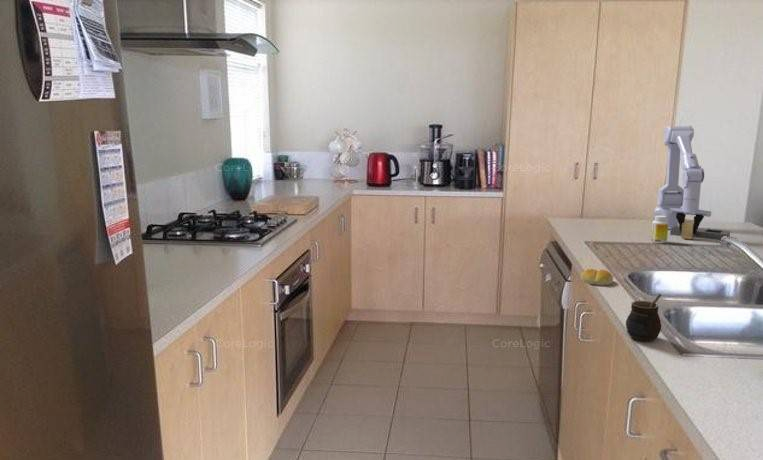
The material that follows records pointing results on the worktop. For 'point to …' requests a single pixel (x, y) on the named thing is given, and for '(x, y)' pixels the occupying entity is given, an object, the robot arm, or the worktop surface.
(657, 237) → the supplement bottle
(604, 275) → the bread roll
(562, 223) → the worktop surface
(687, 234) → the tan wooden block
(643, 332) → the mate gourd
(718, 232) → the rail
